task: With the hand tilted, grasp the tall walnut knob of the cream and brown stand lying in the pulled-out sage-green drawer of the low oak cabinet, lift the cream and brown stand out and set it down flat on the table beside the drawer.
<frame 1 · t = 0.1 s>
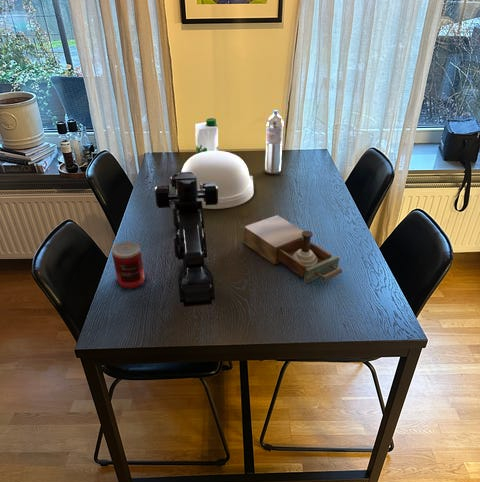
hand: (185, 184, 144), 17 cm above the table, tool horizontal, fingers open, 9 cm apart
cabinet: (275, 247, 146), on the table
milk carton: (207, 168, 197), on the table
water bottle: (272, 172, 193), on the table
cream and brown stand: (304, 260, 136), point 2 cm above the table, touching drawer
dome cover: (215, 191, 178), on the table
drawer: (310, 261, 134), point 3 cm above the table, slide at 12.5 cm, touching cream and brown stand
canned food: (131, 281, 131), on the table
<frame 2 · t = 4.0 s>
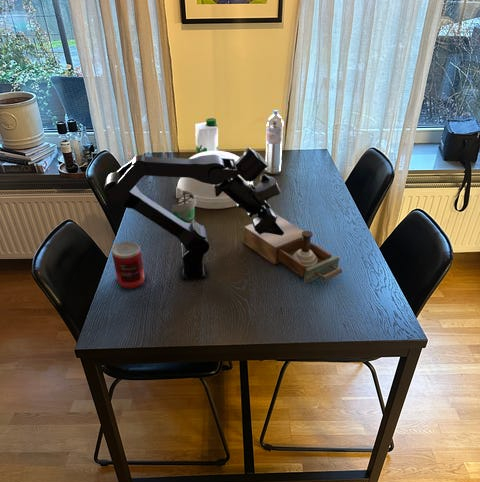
hand: (279, 226, 129), 14 cm above the table, tool tilted 45°, fingers open, 9 cm apart
nothing on the table moved.
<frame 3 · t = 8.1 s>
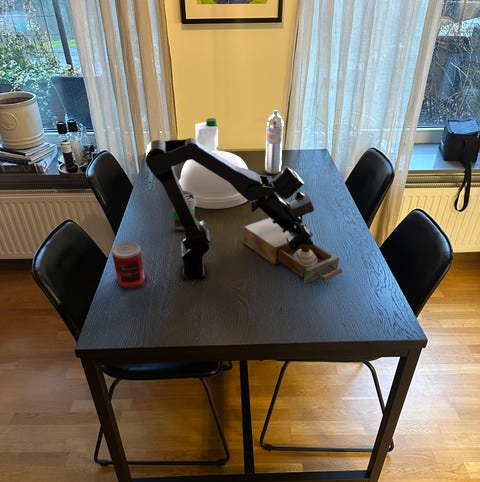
hand: (310, 241, 132), 9 cm above the table, tool tilted 45°, fingers closed on cream and brown stand, 3 cm apart
cream and brown stand: (304, 260, 136), point 2 cm above the table, touching drawer, gripper
everything else where it was.
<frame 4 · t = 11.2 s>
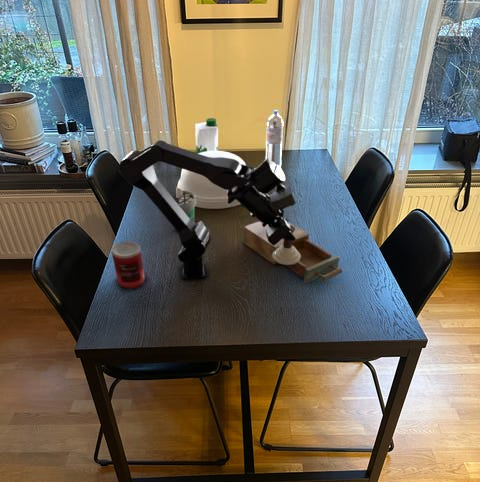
hand: (293, 236, 125), 13 cm above the table, tool tilted 45°, fingers closed on cream and brown stand, 3 cm apart
cream and brown stand: (286, 257, 129), point 7 cm above the table, touching gripper
drawer: (310, 261, 134), point 3 cm above the table, slide at 12.5 cm
everything else where it was.
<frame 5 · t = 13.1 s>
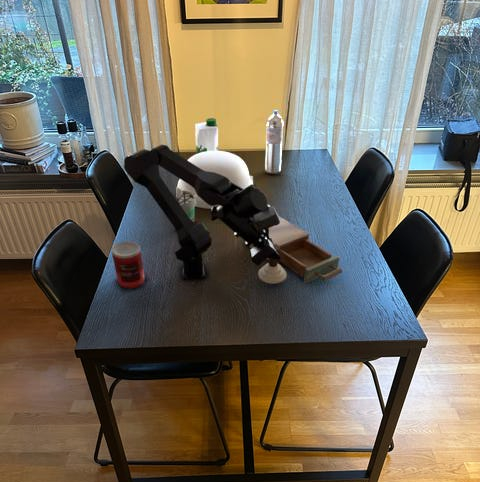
hand: (278, 255, 124), 10 cm above the table, tool tilted 45°, fingers closed on cream and brown stand, 3 cm apart
cream and brown stand: (272, 275, 128), point 3 cm above the table, touching gripper
everything else where it was.
when the fingers open (7 cm above the table, at t = 14.3 s): cream and brown stand stays where it is, on the table.
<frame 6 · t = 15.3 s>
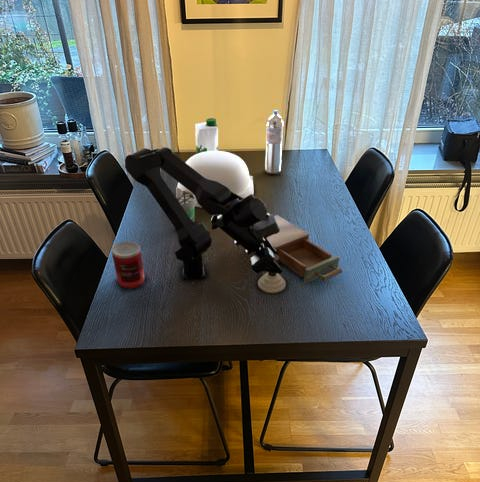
hand: (278, 262, 125), 7 cm above the table, tool tilted 45°, fingers open, 9 cm apart
cream and brown stand: (271, 284, 130), on the table
everything else where it was.
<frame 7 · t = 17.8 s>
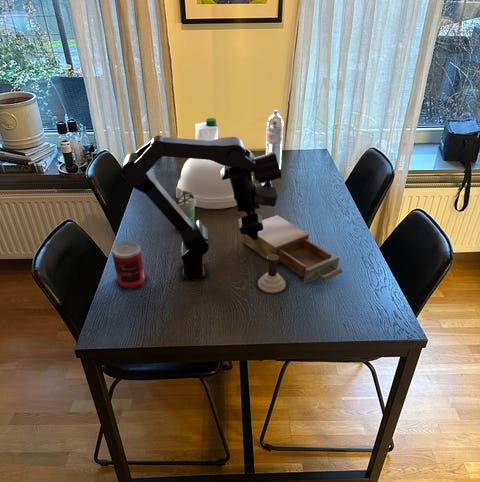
hand: (254, 228, 131), 12 cm above the table, tool tilted 20°, fingers open, 9 cm apart
nothing on the table moved.
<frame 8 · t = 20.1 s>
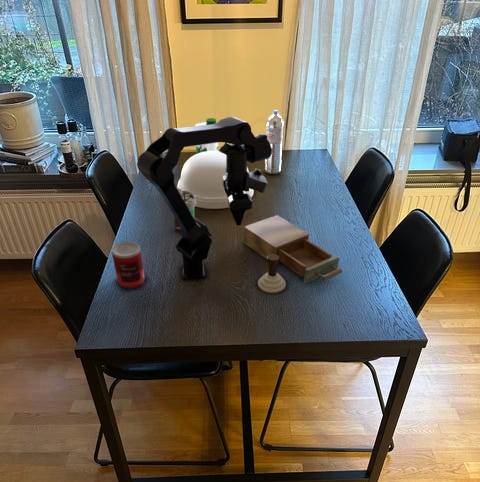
hand: (236, 217, 134), 13 cm above the table, tool pointing down, fingers open, 9 cm apart
nothing on the table moved.
at the end: cream and brown stand inside the target area (0.1 cm from its centre), on the table; cream and brown stand tilted 0°; the gripper is holding nothing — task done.
